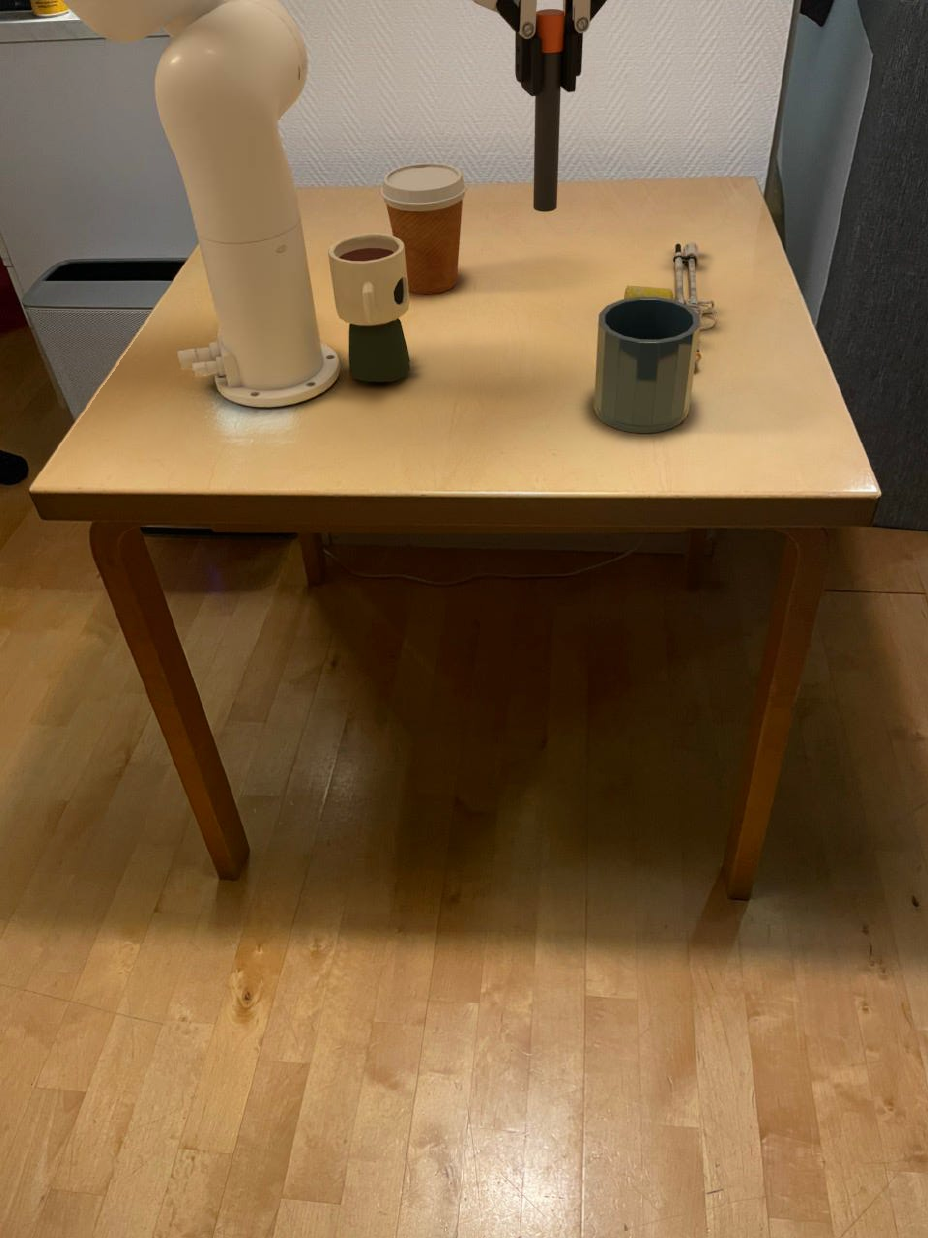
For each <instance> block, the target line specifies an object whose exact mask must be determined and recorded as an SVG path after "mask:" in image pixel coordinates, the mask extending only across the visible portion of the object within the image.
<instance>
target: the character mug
mask: <svg viewBox="0 0 928 1238" xmlns="http://www.w3.org/2000/svg"><path fill="white" fill-rule="evenodd" d="M327 254H328V262H329V268H330V275H331V282H332V290H333V298H334V304H335V309H336V314H337V316H338V317H339V319H340V320H342V321H344V323H347V324H348V355H347V357H348V374H349V375H350V376H351V377H352V378H353V379H355V380H358V381H359V380H360V381H364V382H375V383H376V382H377V383H384V382H385V383H386V382H387V383H388V382H389V383H391V382H392V383H393V382H395V381H398V380H400V379H403V378H405V377H406V376H407V375H408V374H409V372H410V371H411V365H410V364H411V361H410V355H409V350H408V344H407V340H406V336H405V332H404V328H403V325H402V321H401V319H400V318H401V317H402V316H404V315H405V314H406V313H407V312H408V311H409V308H410V294H409V292H410V291H409V290H408V279H407V270H406V259H405V248H404V243H403V242H402V241H401V240H400V239H399V238H396V237H394V236H393V234H386V233H380V232H365V233H360V234H359V233H357V234H351V235H349V236H345V237H342V238H340V239H338V240H337V241H335V242H333V243H331V245H330V246H329V248H328V249H327Z"/></svg>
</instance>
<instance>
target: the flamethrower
mask: <svg viewBox="0 0 928 1238" xmlns="http://www.w3.org/2000/svg"><path fill="white" fill-rule="evenodd" d="M674 252H675V253H674V257H673V258H672V262H673V263H674V270H675V271H674V272H675V273H674V275H675V297H674V293H673V290H672V289H671V288H666V287H653V286H652V287H651V286H638V285H627V286H626V287H625V290H624V296H623V299H628V298H634V297H661V298H666V299H671V300H676V301H679V302H681V303H683V304H685V305H688V306H690V307H691V308H692V309H693V310H694V311H695V312H697V313H698V314H699V317H700V318H702V317H703V314H708V313H710V312H711V311H712V312H714V313H715V317H714V319H713V322H712V323H711V324H709V325H705V326H700V330H704V329H708V328H711V327H712V326H714V325H715V323H716V322H717V321H716V320H717V318H718V316H719V311H718V310H715V309H714V308H715V301H714V300H712V299H711V300H708V301H706V300H705V301H701V299H699V298H698V295H697V281H696V264H697V263H698V262H697V261H698V260H699V257H700V255H699V254H700V253H699V246H698V244H696V242H692V241H691V242H688V243H686V244H685V246H684V247H683V254H682V244H681V243H676V244H675V245H674ZM683 264H685V265H686V264H687V265H688V275H689V276H688V277H689V294H690V295H689V297H688V299H685V296H684V275H683V274H684V273H683V272H684V270H683ZM710 304H711V306H710ZM702 307H705V308H708V309H706V310H703V308H702ZM699 343H701V340H699V339H698V346H697V354H696V362H699V361H700V360H701V359H702V354H701V352H700V349H699V348H700V347H699Z"/></svg>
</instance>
